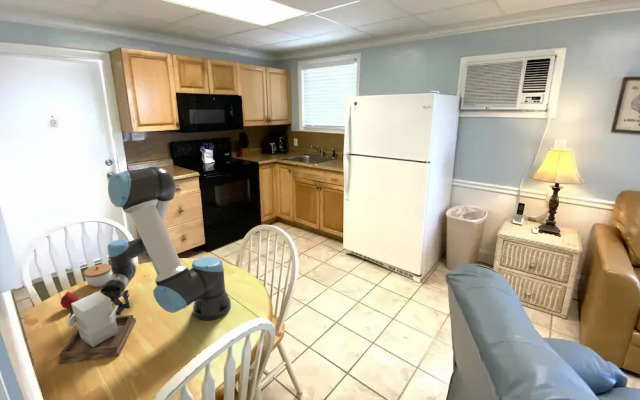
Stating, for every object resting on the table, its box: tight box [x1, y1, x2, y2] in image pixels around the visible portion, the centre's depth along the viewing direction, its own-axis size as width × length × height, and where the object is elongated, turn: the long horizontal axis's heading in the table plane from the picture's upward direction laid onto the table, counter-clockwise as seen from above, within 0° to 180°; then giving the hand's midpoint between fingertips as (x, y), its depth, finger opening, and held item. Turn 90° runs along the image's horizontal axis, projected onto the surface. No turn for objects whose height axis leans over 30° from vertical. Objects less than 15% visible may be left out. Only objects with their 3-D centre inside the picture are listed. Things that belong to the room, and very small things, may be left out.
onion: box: [60, 291, 80, 309], centre depth 130 cm, size 6×6×8 cm
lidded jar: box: [83, 263, 113, 288], centre depth 147 cm, size 11×11×9 cm
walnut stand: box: [57, 314, 137, 365], centre depth 114 cm, size 18×18×4 cm
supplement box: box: [71, 290, 119, 347], centre depth 111 cm, size 9×9×15 cm
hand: (90, 322), depth 107 cm, fingers closed on supplement box, 12 cm apart
